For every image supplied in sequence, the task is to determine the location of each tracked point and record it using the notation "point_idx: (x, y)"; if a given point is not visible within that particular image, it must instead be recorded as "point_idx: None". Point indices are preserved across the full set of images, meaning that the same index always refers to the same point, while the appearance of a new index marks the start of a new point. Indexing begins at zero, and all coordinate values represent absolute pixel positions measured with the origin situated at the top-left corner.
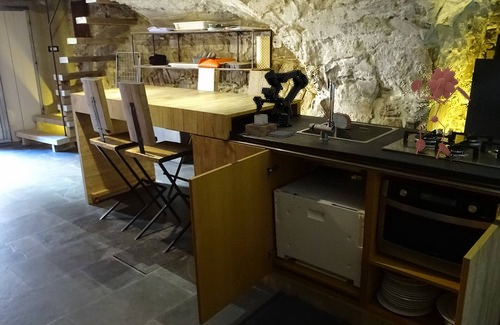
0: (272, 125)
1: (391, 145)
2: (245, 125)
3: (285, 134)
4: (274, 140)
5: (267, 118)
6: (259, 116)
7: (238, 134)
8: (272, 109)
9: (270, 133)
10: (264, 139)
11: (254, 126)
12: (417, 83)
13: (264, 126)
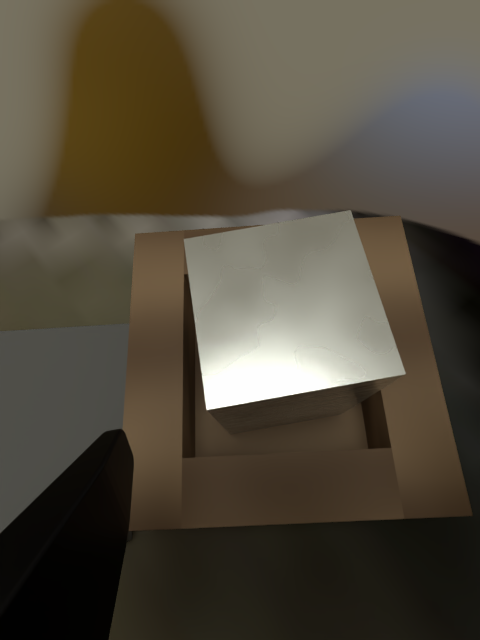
0: (125, 416)
1: None
2: (395, 219)
3: None
4: (2, 246)
5: (215, 417)
6: (245, 234)
7: (411, 230)
8: (62, 507)
9: (106, 330)
10: (92, 226)
11: (256, 226)
12: None
13: (148, 278)
